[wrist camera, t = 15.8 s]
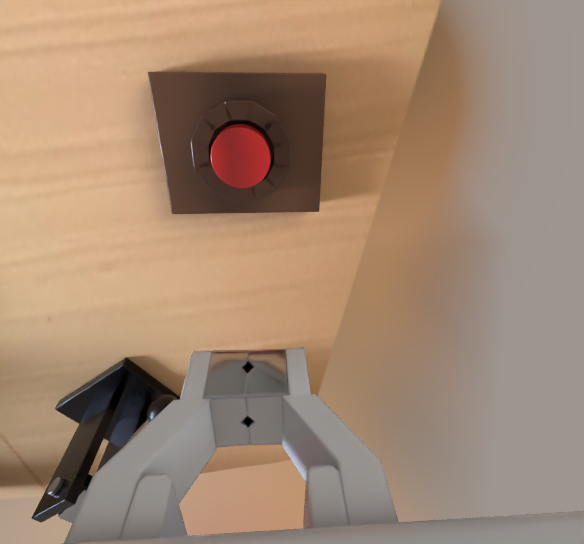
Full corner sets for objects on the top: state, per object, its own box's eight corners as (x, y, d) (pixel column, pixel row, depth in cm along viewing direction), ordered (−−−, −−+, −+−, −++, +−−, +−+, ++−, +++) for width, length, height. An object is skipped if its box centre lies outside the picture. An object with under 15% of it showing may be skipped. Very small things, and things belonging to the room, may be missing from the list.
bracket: (126, 357, 38) (71, 474, 27) (184, 400, 42) (157, 517, 31) (59, 400, 41) (-16, 523, 30) (119, 437, 45) (73, 557, 34)
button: (269, 123, 24) (270, 127, 23) (270, 181, 26) (271, 188, 25) (210, 123, 24) (207, 127, 22) (216, 181, 26) (213, 188, 24)
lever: (162, 383, 36) (167, 398, 33) (184, 399, 37) (191, 415, 34) (56, 491, 32) (52, 518, 30) (84, 505, 34) (83, 532, 31)
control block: (321, 73, 26) (330, 74, 23) (315, 203, 31) (322, 220, 28) (156, 71, 25) (139, 72, 22) (177, 205, 30) (166, 223, 27)
